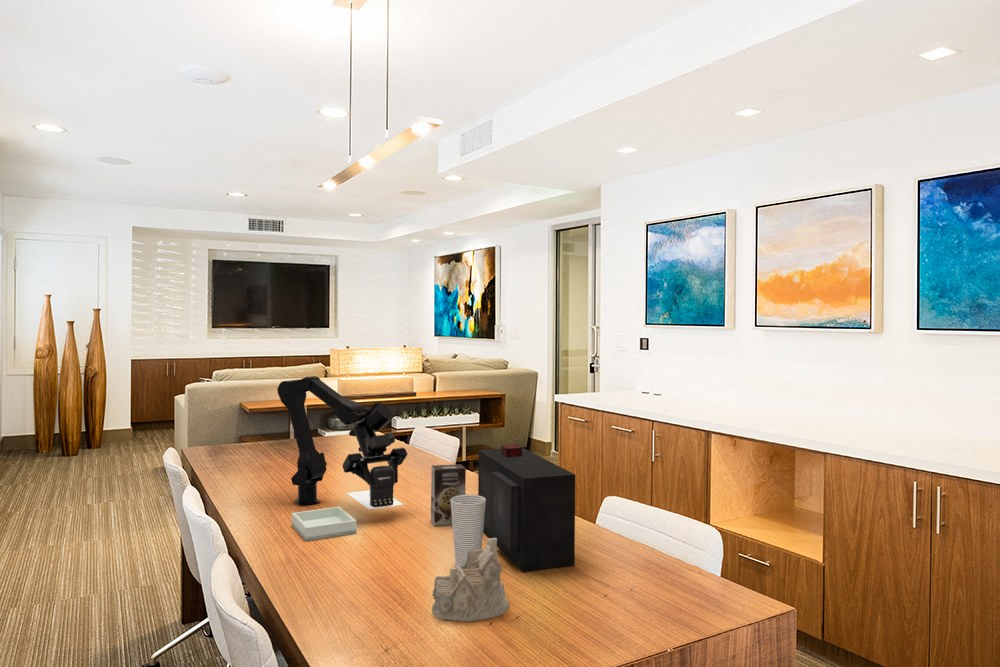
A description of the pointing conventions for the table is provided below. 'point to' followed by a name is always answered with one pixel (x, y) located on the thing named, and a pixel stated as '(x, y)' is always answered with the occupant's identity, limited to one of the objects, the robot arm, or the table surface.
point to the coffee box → (445, 491)
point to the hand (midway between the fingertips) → (385, 484)
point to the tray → (323, 523)
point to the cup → (467, 525)
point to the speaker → (528, 507)
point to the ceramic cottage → (472, 588)
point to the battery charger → (382, 486)
